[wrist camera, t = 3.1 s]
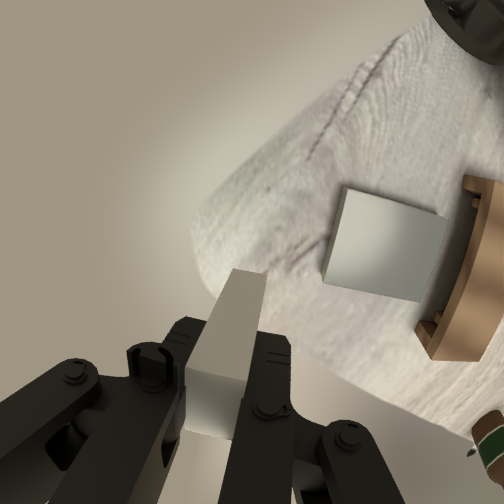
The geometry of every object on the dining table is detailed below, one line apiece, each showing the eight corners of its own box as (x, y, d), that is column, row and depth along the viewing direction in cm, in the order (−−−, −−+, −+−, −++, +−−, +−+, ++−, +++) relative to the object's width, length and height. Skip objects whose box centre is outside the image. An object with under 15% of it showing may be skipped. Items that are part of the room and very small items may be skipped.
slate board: (342, 185, 26) (348, 189, 24) (435, 213, 26) (448, 219, 23) (320, 271, 29) (323, 283, 26) (410, 290, 29) (419, 302, 26)
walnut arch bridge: (464, 174, 23) (495, 180, 18) (508, 195, 23) (538, 205, 17) (414, 331, 30) (431, 360, 24) (459, 336, 29) (478, 361, 24)
